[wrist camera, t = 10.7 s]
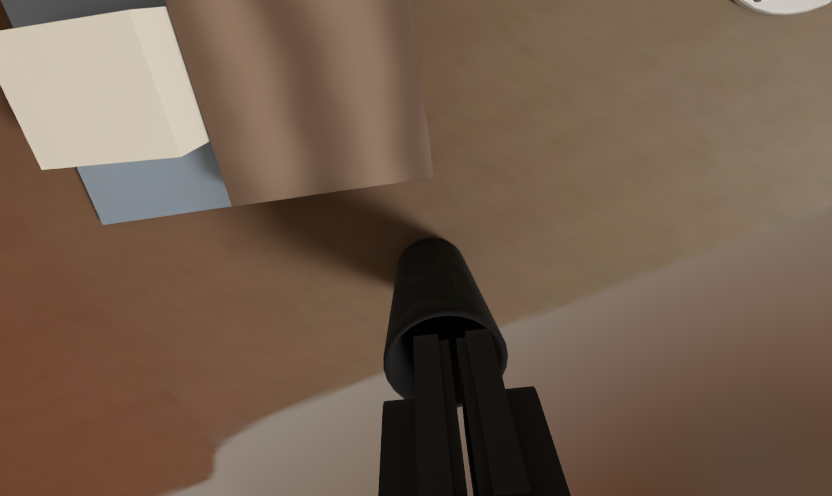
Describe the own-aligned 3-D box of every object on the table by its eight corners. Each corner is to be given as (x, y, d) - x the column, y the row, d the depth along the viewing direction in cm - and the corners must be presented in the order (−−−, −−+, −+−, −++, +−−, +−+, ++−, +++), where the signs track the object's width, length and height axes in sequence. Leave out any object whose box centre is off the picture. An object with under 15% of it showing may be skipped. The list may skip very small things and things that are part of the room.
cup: (367, 251, 41) (360, 342, 30) (454, 210, 40) (478, 290, 29) (410, 320, 44) (417, 426, 33) (491, 285, 43) (525, 382, 32)
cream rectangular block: (172, 5, 30) (128, 9, 27) (215, 138, 34) (181, 157, 30) (33, 28, 32) (-25, 34, 29) (87, 150, 36) (41, 169, 32)
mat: (163, -77, 30) (160, -78, 30) (248, 201, 38) (246, 204, 38) (-16, -49, 31) (-23, -50, 30) (106, 222, 39) (102, 224, 38)
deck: (397, -93, 31) (398, -103, 28) (430, 162, 38) (433, 177, 35) (169, -58, 31) (144, -64, 28) (244, 189, 38) (231, 206, 35)
